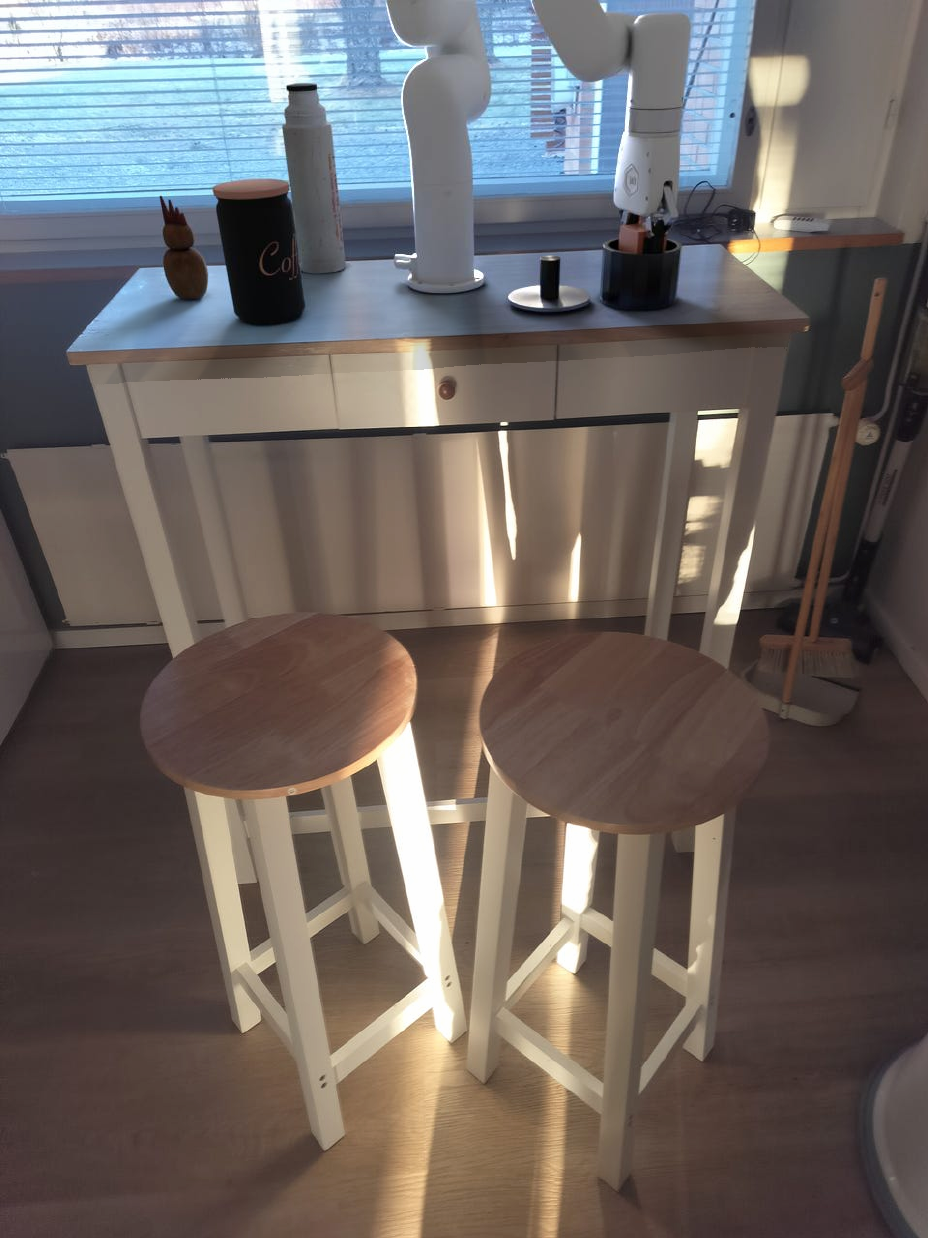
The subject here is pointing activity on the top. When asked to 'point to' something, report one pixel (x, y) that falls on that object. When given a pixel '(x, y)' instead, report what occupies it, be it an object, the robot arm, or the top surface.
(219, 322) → the top surface
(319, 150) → the thermos bottle
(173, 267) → the wooden figurine
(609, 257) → the pot
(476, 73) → the robot arm
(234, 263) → the coffee jar
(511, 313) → the top surface
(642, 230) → the block
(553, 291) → the lid
